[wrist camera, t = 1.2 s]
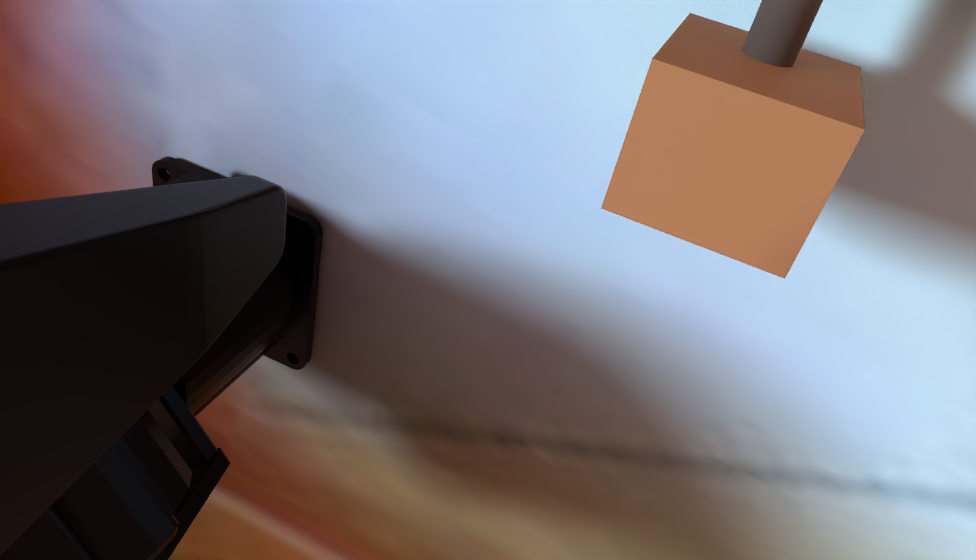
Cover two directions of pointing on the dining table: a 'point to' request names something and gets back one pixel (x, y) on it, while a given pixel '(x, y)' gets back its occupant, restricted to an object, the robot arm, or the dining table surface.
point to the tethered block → (739, 136)
